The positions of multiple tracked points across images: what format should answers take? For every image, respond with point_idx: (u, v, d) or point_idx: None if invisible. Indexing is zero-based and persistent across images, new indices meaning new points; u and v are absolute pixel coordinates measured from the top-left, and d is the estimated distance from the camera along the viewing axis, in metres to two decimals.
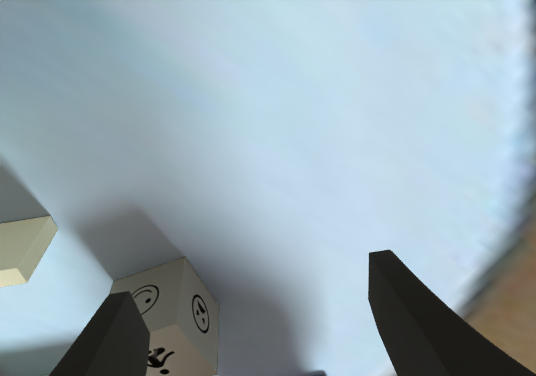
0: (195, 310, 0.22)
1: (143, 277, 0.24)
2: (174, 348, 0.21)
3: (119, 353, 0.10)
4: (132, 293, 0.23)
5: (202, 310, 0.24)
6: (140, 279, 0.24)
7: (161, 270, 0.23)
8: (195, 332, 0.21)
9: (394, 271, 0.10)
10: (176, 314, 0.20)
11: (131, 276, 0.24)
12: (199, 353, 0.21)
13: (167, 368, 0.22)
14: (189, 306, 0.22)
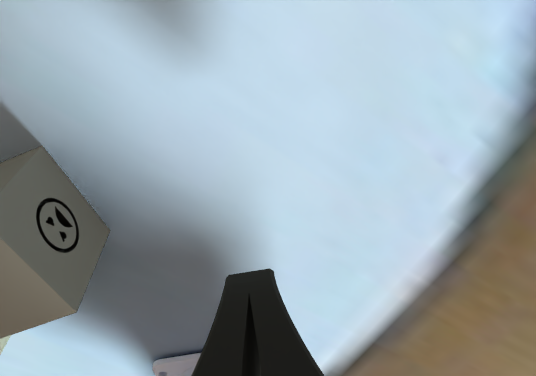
0: (45, 217, 0.15)
1: None
2: None
3: (252, 332, 0.10)
4: None
5: (67, 224, 0.16)
6: None
7: (5, 164, 0.16)
8: (34, 243, 0.14)
9: (261, 292, 0.10)
10: None
11: None
12: (36, 274, 0.13)
13: None
14: (29, 206, 0.14)
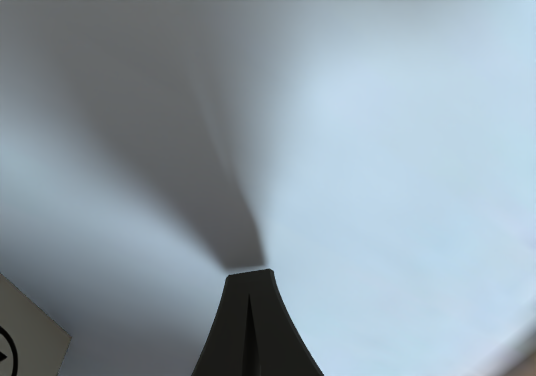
0: None
1: None
2: None
3: (252, 332, 0.10)
4: None
5: None
6: None
7: None
8: None
9: (261, 292, 0.10)
10: None
11: None
12: None
13: None
14: None
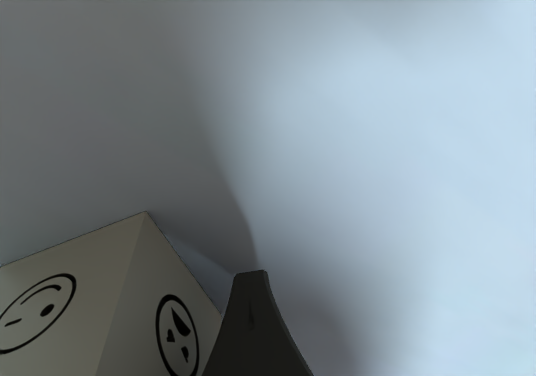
0: (165, 331, 0.10)
1: (54, 258, 0.11)
2: None
3: None
4: (22, 293, 0.10)
5: (184, 329, 0.11)
6: (47, 263, 0.11)
7: (93, 243, 0.11)
8: None
9: (254, 294, 0.10)
10: (102, 348, 0.07)
11: (33, 257, 0.11)
12: None
13: None
14: (148, 323, 0.09)
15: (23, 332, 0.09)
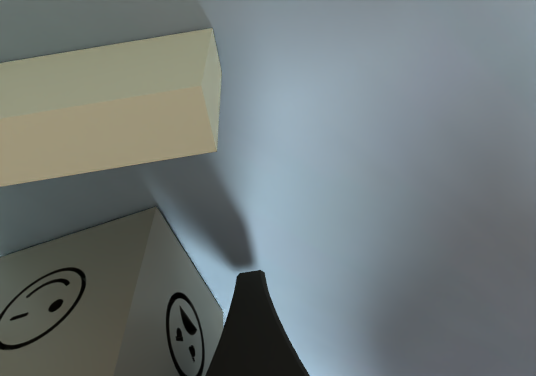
0: (174, 330, 0.10)
1: (60, 251, 0.10)
2: None
3: None
4: (27, 286, 0.10)
5: (190, 327, 0.11)
6: (52, 255, 0.10)
7: (101, 237, 0.10)
8: None
9: (251, 294, 0.10)
10: (118, 349, 0.07)
11: (36, 249, 0.11)
12: None
13: None
14: (159, 322, 0.09)
15: (31, 327, 0.08)
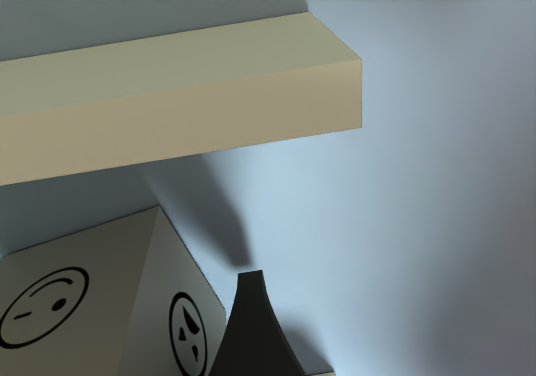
0: (177, 329, 0.10)
1: (63, 250, 0.11)
2: None
3: None
4: (30, 285, 0.10)
5: (193, 326, 0.11)
6: (56, 254, 0.10)
7: (104, 236, 0.10)
8: None
9: (249, 295, 0.10)
10: (121, 348, 0.07)
11: (40, 248, 0.11)
12: None
13: None
14: (162, 321, 0.09)
15: (34, 326, 0.08)
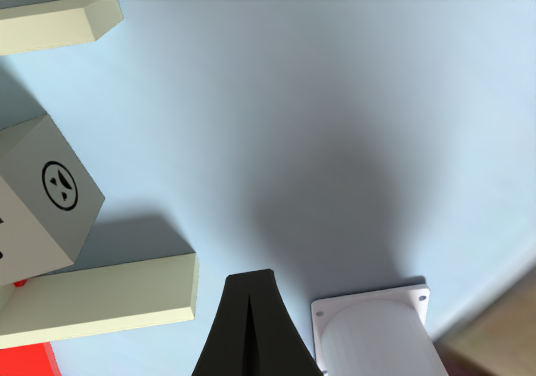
0: (49, 177, 0.16)
1: None
2: (1, 212, 0.15)
3: (252, 332, 0.10)
4: None
5: (68, 187, 0.18)
6: None
7: (13, 128, 0.17)
8: (39, 198, 0.15)
9: (261, 292, 0.10)
10: (1, 159, 0.14)
11: None
12: (41, 225, 0.15)
13: None
14: (36, 166, 0.16)
15: None
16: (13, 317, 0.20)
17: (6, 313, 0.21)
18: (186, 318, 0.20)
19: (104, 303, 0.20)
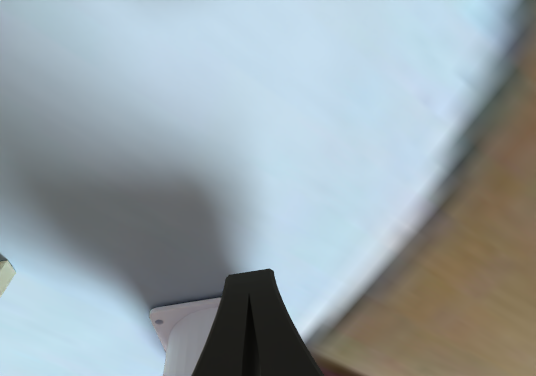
0: None
1: None
2: None
3: (252, 332, 0.10)
4: None
5: None
6: None
7: None
8: None
9: (261, 292, 0.10)
10: None
11: None
12: None
13: None
14: None
15: None
16: None
17: None
18: None
19: None
